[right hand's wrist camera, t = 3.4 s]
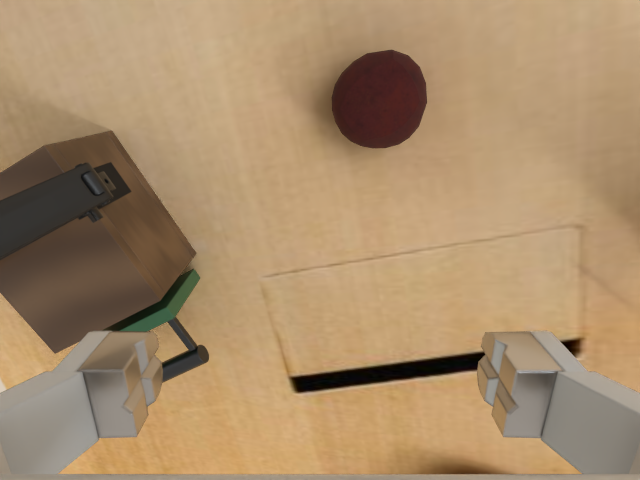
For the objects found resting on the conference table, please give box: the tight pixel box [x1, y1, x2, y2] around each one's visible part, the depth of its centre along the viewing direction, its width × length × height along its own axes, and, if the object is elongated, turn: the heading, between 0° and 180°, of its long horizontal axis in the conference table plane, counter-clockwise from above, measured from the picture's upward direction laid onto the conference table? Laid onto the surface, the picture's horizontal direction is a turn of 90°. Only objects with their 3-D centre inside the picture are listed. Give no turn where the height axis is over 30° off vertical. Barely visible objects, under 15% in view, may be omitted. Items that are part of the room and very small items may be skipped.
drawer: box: [101, 269, 209, 383], centre depth 38 cm, size 18×10×8 cm, turn 28°
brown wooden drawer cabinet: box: [0, 131, 196, 353], centre depth 37 cm, size 14×11×10 cm
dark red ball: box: [332, 50, 427, 148], centre depth 33 cm, size 7×8×7 cm
